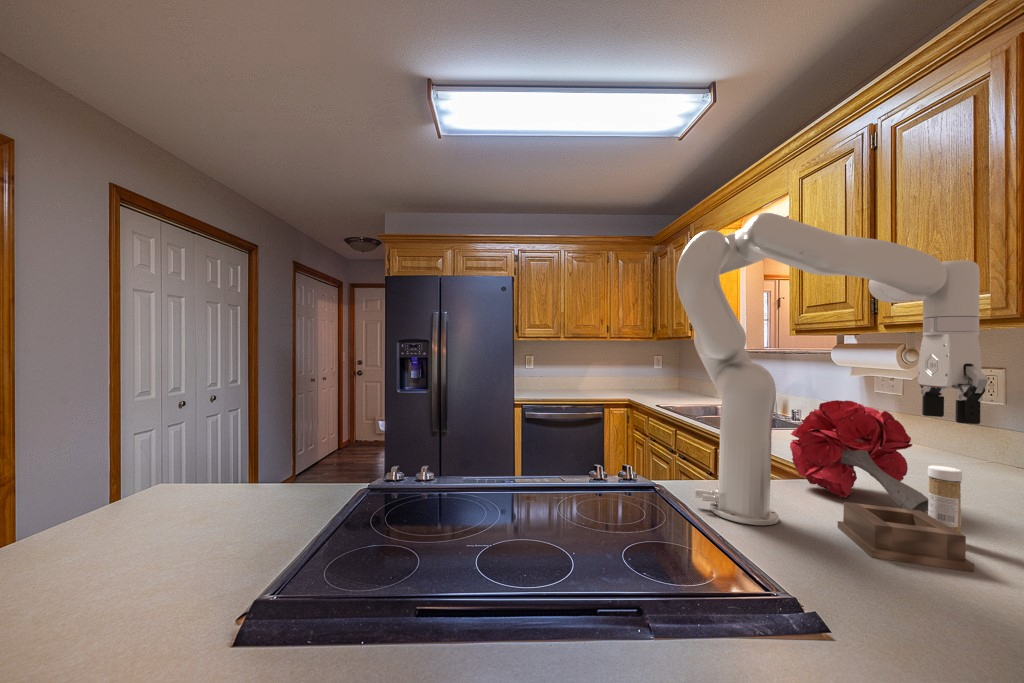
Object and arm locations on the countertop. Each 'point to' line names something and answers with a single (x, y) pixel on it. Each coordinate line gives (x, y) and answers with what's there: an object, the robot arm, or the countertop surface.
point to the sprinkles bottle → (945, 495)
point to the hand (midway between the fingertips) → (949, 419)
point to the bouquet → (854, 450)
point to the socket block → (904, 536)
